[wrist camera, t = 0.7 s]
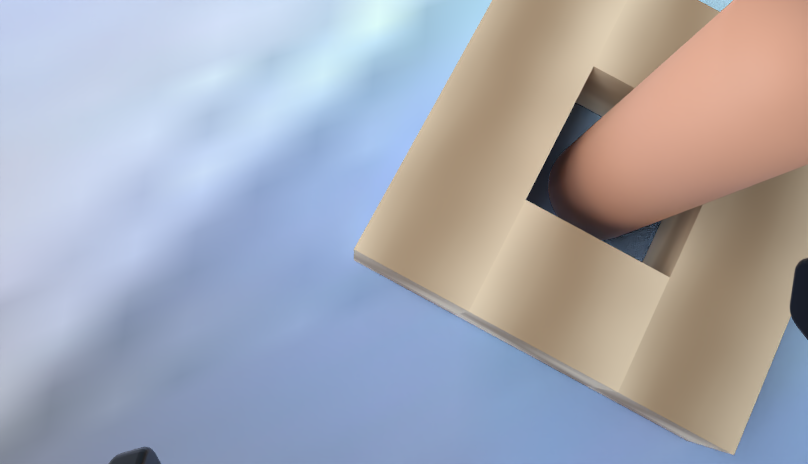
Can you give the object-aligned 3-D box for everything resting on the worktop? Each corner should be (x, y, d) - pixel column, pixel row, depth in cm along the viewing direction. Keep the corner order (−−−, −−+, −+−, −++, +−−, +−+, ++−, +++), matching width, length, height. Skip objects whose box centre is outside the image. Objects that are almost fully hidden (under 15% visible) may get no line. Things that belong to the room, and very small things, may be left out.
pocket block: (820, 124, 26) (879, 97, 23) (686, 440, 24) (733, 454, 21) (518, -38, 26) (539, -85, 23) (354, 260, 24) (354, 249, 21)
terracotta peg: (663, 170, 25) (932, 25, 14) (622, 258, 25) (867, 186, 13) (574, 122, 25) (764, -64, 14) (530, 208, 25) (691, 92, 13)
